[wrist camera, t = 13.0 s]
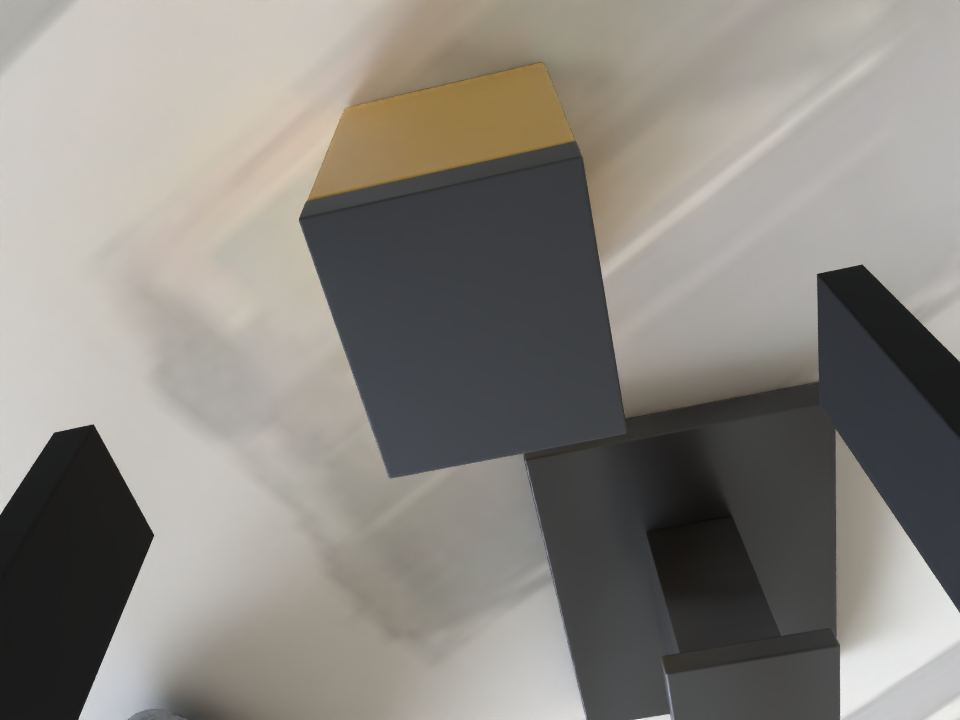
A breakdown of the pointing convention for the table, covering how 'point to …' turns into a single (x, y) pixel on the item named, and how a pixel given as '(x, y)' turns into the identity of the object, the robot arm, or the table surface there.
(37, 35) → the table surface
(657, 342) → the table surface
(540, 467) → the stand
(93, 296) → the table surface
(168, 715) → the brown animal-shaped figure
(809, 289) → the table surface
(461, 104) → the block
